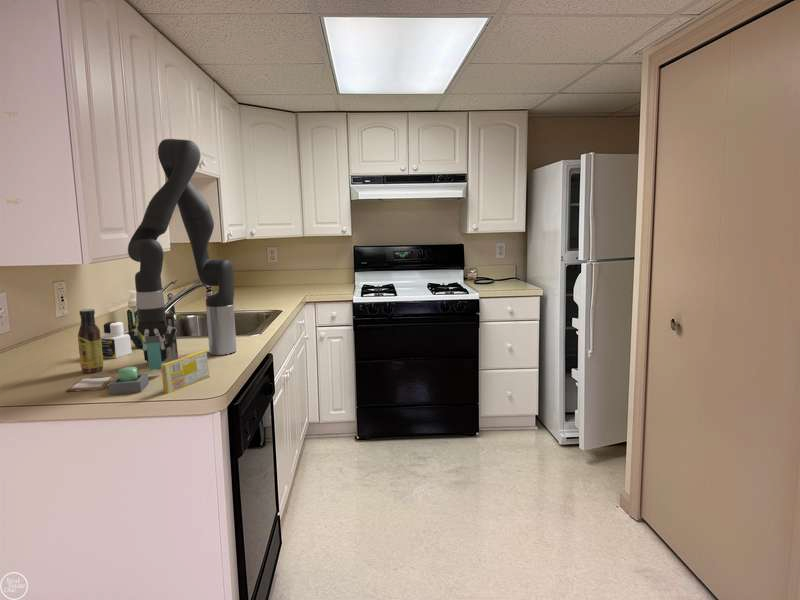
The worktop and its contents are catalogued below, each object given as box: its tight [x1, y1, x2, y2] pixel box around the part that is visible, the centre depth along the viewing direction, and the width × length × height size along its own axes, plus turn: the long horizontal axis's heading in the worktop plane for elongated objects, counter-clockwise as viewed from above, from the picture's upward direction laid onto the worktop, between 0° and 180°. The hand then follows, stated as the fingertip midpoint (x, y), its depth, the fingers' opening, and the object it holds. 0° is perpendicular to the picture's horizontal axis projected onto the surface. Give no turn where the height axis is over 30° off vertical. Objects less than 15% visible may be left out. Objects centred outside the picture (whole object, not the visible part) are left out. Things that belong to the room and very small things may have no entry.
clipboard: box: [65, 375, 117, 392], centre depth 152 cm, size 11×10×1 cm
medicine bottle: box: [100, 321, 133, 359], centre depth 185 cm, size 7×7×12 cm
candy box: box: [160, 350, 210, 394], centre depth 151 cm, size 16×2×8 cm, turn 159°
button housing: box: [108, 373, 150, 395], centre depth 148 cm, size 8×8×3 cm
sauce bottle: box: [77, 308, 104, 374], centre depth 165 cm, size 6×6×20 cm
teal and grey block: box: [145, 336, 165, 371], centre depth 159 cm, size 4×4×10 cm
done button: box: [118, 366, 139, 382], centre depth 147 cm, size 5×5×4 cm
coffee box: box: [164, 313, 179, 363], centre depth 174 cm, size 9×6×16 cm
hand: (156, 361), depth 159 cm, fingers closed on teal and grey block, 3 cm apart
